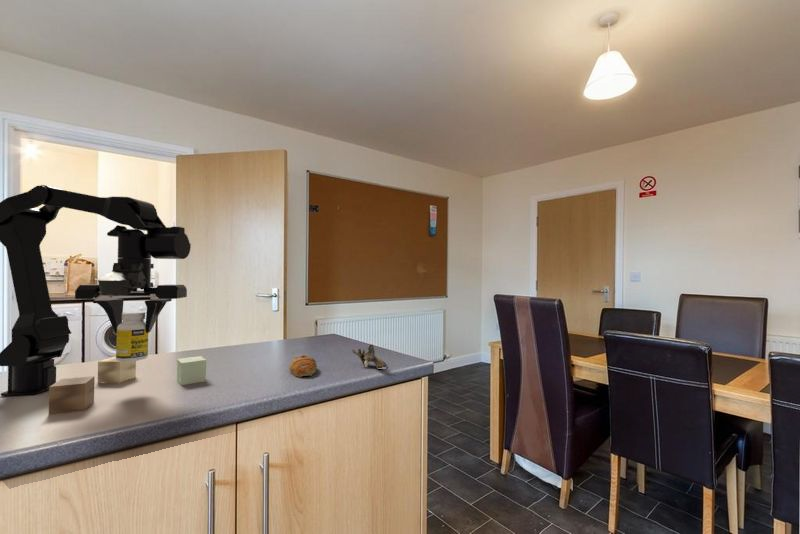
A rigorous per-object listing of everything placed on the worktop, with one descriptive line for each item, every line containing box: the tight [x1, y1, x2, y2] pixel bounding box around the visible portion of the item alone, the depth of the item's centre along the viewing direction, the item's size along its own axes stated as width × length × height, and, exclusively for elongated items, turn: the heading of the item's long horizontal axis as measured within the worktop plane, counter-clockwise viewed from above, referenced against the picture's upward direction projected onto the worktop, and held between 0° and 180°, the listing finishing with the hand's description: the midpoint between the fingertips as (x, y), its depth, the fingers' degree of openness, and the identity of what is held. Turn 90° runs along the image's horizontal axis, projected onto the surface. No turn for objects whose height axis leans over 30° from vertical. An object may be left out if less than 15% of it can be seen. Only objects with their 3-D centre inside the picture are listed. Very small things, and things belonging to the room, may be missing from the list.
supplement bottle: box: [115, 311, 150, 362], centre depth 77 cm, size 5×5×10 cm
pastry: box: [288, 354, 318, 378], centre depth 92 cm, size 9×7×4 cm
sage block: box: [176, 355, 207, 386], centre depth 85 cm, size 5×5×5 cm
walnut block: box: [48, 375, 96, 416], centre depth 68 cm, size 5×5×5 cm
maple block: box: [97, 355, 137, 384], centre depth 85 cm, size 5×5×5 cm
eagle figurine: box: [351, 344, 388, 370], centre depth 99 cm, size 8×7×9 cm
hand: (133, 332), depth 77 cm, fingers closed on supplement bottle, 5 cm apart
